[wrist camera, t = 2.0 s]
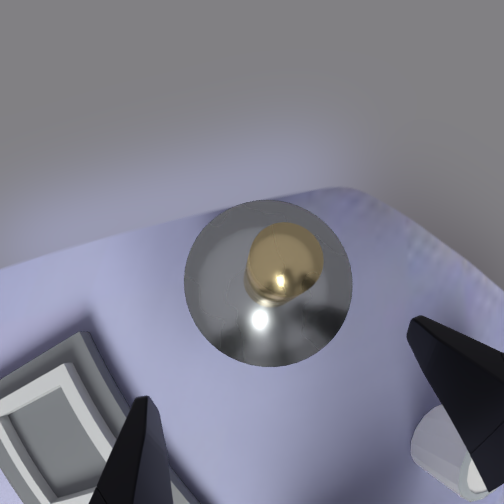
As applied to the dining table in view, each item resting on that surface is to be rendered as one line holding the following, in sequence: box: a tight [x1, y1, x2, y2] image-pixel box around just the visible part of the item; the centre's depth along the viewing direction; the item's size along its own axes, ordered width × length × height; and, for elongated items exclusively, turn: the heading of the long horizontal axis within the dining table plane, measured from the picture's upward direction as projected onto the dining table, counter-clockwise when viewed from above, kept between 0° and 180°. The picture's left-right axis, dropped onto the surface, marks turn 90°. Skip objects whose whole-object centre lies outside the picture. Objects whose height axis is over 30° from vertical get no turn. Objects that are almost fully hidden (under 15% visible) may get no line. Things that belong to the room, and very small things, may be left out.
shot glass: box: [411, 404, 498, 502], centre depth 14 cm, size 7×7×7 cm
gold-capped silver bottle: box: [184, 200, 352, 367], centre depth 13 cm, size 5×5×14 cm
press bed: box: [0, 331, 201, 504], centre depth 14 cm, size 20×14×3 cm
